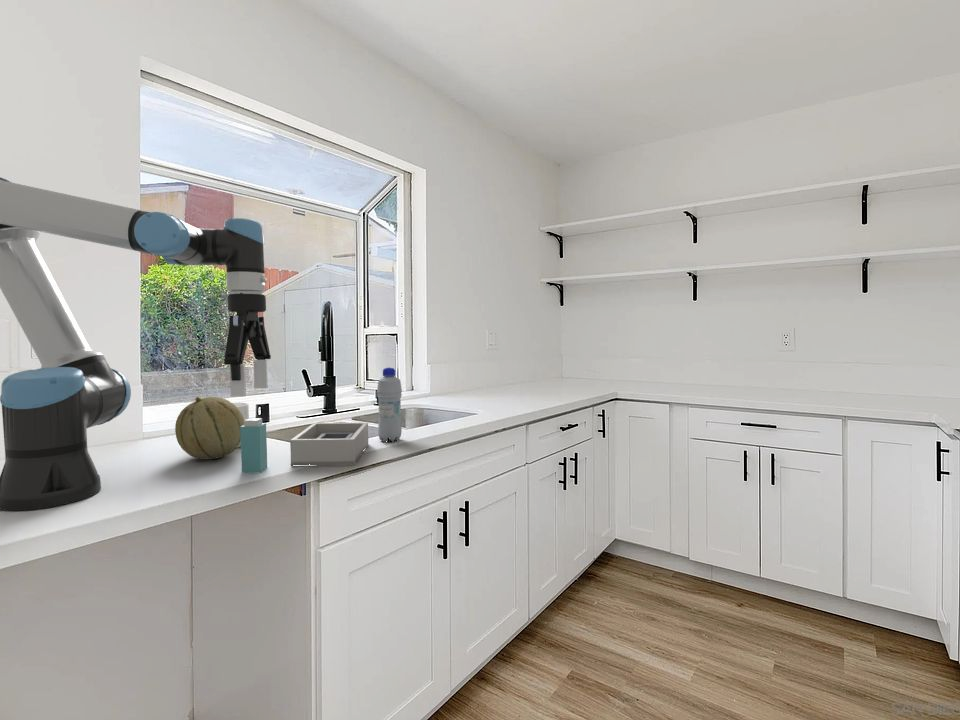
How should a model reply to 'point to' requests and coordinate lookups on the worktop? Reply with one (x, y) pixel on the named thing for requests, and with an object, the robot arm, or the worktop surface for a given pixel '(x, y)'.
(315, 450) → the box
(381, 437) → the bottle
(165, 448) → the worktop surface
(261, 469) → the block
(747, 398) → the worktop surface
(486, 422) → the worktop surface
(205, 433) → the cantaloupe
